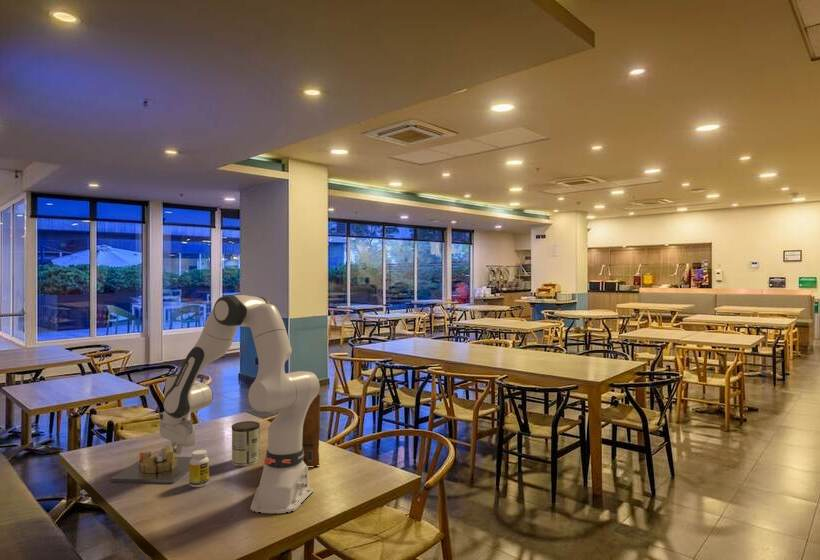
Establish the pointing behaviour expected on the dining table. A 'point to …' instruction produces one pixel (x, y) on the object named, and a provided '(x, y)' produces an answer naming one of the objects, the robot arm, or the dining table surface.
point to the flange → (137, 476)
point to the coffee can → (245, 443)
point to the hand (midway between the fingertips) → (177, 453)
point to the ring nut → (151, 464)
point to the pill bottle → (199, 469)
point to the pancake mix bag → (312, 433)
